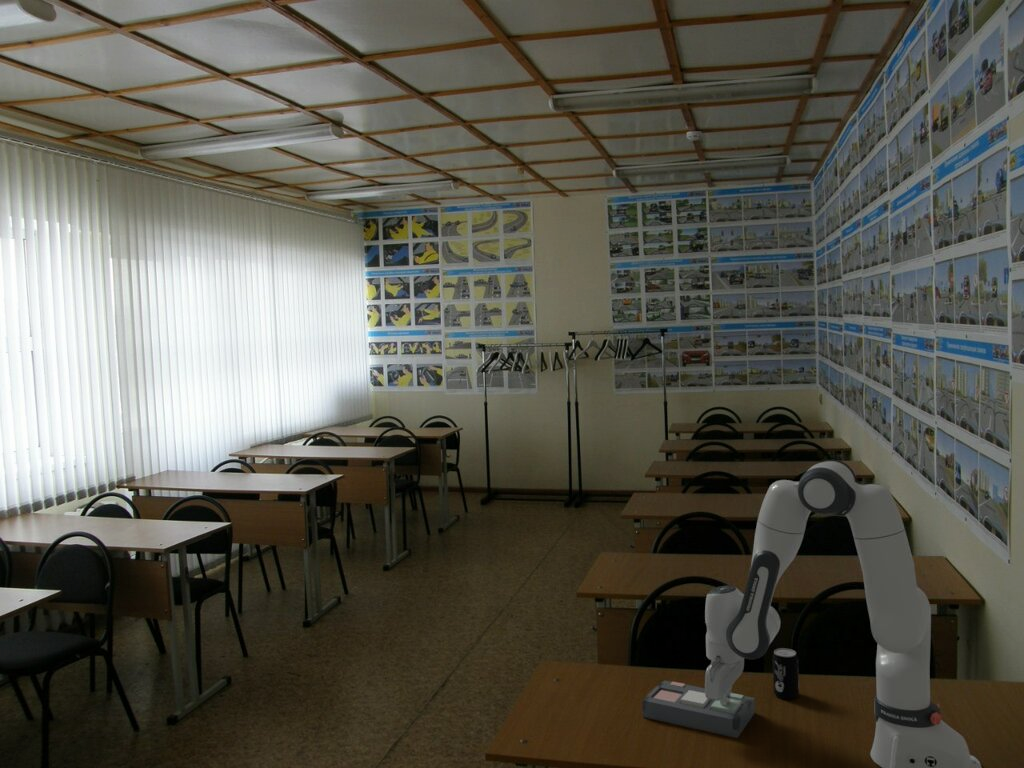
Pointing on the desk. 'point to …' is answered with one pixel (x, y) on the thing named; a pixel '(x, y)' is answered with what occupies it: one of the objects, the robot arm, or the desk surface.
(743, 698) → the keypad
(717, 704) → the sage key
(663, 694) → the rose key
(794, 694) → the beverage can
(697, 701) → the ivory key
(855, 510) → the robot arm
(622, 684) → the desk surface
